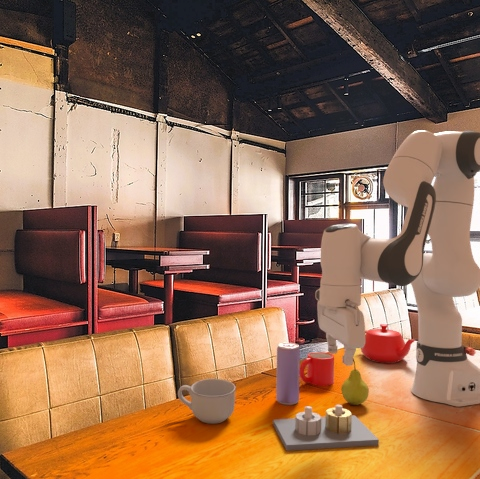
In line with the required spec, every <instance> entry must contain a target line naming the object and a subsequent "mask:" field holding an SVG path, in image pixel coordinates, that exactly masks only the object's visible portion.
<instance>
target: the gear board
mask: <svg viewBox="0 0 480 479" xmlns="http://www.w3.org/2000/svg"><path fill="white" fill-rule="evenodd" d="M334 408H335V414H337V415H342V408H343V405H341V404H335V406H334ZM325 422H326V416H321V415H320V414H319V413H316V412H313V407H312V406H307V405H306V406H304V411H301V412H300V411H299V412H298V413H296V414H295V416H294V418H279V419H277V418H276V419H275V418H274V419H273V420H272V426H273V427H274V429H275V431H276V433H277V435H278V437H279V439H280V441H281V443H282V445H283V446H284V448H285V451H286V452H291V451H306V450H321V449H323V450H325V449H337V448H340V449H341V448H355V447H369V446H370V447H371V446H379V444H380V442H379V440H380V439H379V438H378V437H377V436H376V435H375V434H374V433H373V432H372V431H371V430H370V429H369V428H368V427H367V426H366V425H365V424H364V423H363V422H362V421H361V420H360V419H359V418H358V417H357V416H356V415H352V423H351V431H350V432H348V433H342V434H339V433H334V432H330V431H328V430H327V429H326V427H325Z"/></svg>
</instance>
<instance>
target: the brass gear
mask: <svg viewBox="0 0 480 479" xmlns="http://www.w3.org/2000/svg"><path fill="white" fill-rule="evenodd" d="M352 414H353V413H352V412H351V411H350V410H349V409H347V408H343V407H342V415H337V414H335V407H330V408H328V409H326V410H325V417H326V422H325V427H326V429H327V430H328V431H330V432H334V433H339V434H342V433H348V432H350V431H351V423H352V416H353V415H352Z"/></svg>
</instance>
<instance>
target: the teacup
mask: <svg viewBox="0 0 480 479" xmlns="http://www.w3.org/2000/svg"><path fill="white" fill-rule="evenodd" d="M236 388H237V387H236V385H235V384H234V383H233V382H232V381H230V380H227V379H222V378H221V379H220V378H205V379H200V380H198V381H196V382H194V383H193V384H191V386H190V385H187V384H183V385H181V386H180V387H179V389H178V390H177V397H178V399H179V400H180V402H181V403H182V404H184V405H186V406H187V407H188V409H189V410H191V411H192V412H191V413H192V414H193V416H194V417H195V418H196V419H198V420H199V421H200V422H202V423H205V424H209V425H210V424H211V425H212V424H213V425H214V424H220V423H223V422H225V421H226V420H227V419H228V418H230V417H231V415H232V414H234V410H235V403H236ZM185 390H186V391H187V392H188V394H189V396H190V401H189V400H188V399H187V398H185V397H184V395H183V391H185Z"/></svg>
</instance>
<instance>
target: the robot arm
mask: <svg viewBox="0 0 480 479" xmlns="http://www.w3.org/2000/svg"><path fill="white" fill-rule="evenodd" d="M479 171H480V132H479V131H475V130H474V131H473V130H464V131H442V132H437V133H434V132H431V131H429V130H415V131H413V132H412V133H410V134H409V135H408V136H406V138H405V139H404V140H403V142H402V143H401V144H400V146H399V147H398V148H397V150H396V151H395V153H394V155H393V157H392V158H391V160H390V161H389V164H388V166H387V168H386V170H385V172H384V174H383V175H384V176H383V179H382V183H383V188H384V190H385V193H386V194H387V195H388V196H389V197H390V199H392V200H393V201H394V202H395V203H397V204H398V205H401V206H403V207H406V208H407V210H406V213H405V217H404V221H403V224H402V228H401V231H400V233H399V234H398V235H397V236H395V237H393V238H373V237H370V236H368V235H366V234H365V233H364V232H362V231H361V230H360V229H359V225H357V224H356V223H348V222H347V223H346V222H345V223H340V224H339V223H338V224H333V225H330V226H327V227H326V228H325V229H324V230H323V233H322V237H321V242H320V267H321V271H322V272H321V277H320V285H319V286H320V287H319V288H318V289H316V291H315V293H314V294H315V299H316V300H317V304H316V306H317V309H316V310H317V322H318V327H319V329H320V330H321V331H323V332H324V333H325V337H326V338H325V340H326V342H327V353H330V354H332V355H334V354H337V353H338V345H337V342H339V343H340V344H342V345H343V349H344V353H343V354H344V355H342V363H343V364H344V365H345V366H354V362H353V358H354V357H355V354H356V351H357V349H361V348H363V347H364V345H365V335H366V333H365V331H366V324H365V316H364V313H363V311H361V310H360V309H359V307H360V306H361V304H362V302H361V301H362V299H361V298H362V297H361V296H362V281H361V280H369V281H372V282H378V283H379V282H381V283H386V284H390V285H394V286H398V287H405V286H408V285H411V287H412V289H413V295H414V299H415V303H416V308H417V314H418V320H417V321H418V323H417V324H418V325H417V326H418V334H417V335H418V338H417V339H418V340H416V347H415V348H416V349H415V350H416V353H415V356H416V357H415V358H416V368H415V369H416V370H415V376H414V379H413V384H412V387H411V388H410V390H411V393H412V394H413V395H415V396H416V397H418V398H421V399H423V400H426V401H430V402H435V403H441V404H445V405H450V406H453V407H466V406H472V405H479V404H480V368H479V367H478V366H477V365H476V364H475V363H473V362H472V361H471V360H469V359H468V355H469V356H470V357H471V356H472V357H473V356H475V354H476V352H477V351H476V350H475V348H473V347H470V346H467V347H466V346H465V345H463V344H462V340H463V339H462V338H463V337H462V334H463V318H462V315H461V313H460V311H459V310H458V308H457V307H456V303H455V301H454V298H462V297H463V298H464V297H468V296H471V295H474V294H475V293H476V292H477V291H478V289H480V267H479V265H478V264H477V263H476V260H475V258H474V255H473V252H472V246H471V225H472V218H473V211H474V210H473V209H474V201H475V176H476V174H478V172H479ZM434 178H435V180H433V179H434ZM432 183H433V185H432ZM428 236H429V238H430V243H431V250H432V252H425V247H426V243H427V239H428Z"/></svg>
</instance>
